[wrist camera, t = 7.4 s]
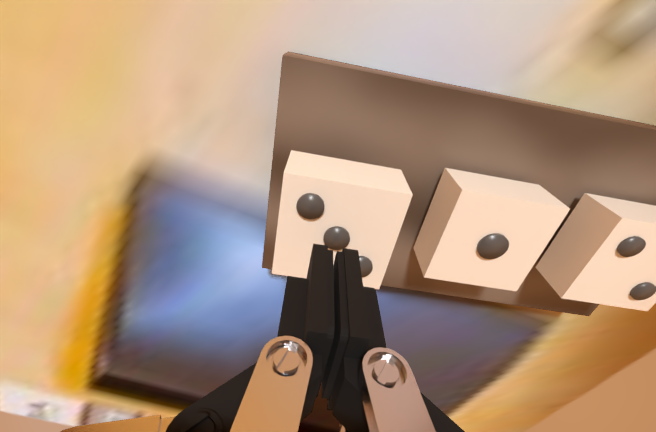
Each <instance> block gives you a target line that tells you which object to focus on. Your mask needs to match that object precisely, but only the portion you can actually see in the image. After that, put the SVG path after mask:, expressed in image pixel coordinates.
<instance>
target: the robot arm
mask: <svg viewBox="0 0 656 432" xmlns="http://www.w3.org/2000/svg"><path fill="white" fill-rule="evenodd" d="M321 382H322V398H326V399H327V410H333V415H334V416H335V417H336V418H337V420H338V421H339V422H340V432H464V431H463V430H462V429H461V428H460V427H459V426H458V425H457V424H455V423H454V422H453V421H452V420H451V419H450V418H449V417H448V416H447V415H445V414H444V413H443V412H442V411H441V410H440V409H439V408H438V407H436V406H435V405H434V404H433V403H432V402H431V401H430V400H429V399H427V398H426V397H425V396H424V395H423V394H422V393H421V392H420V391H419V388H418V386H417V383H416V381H415V378H414V376H413V373H412V371H411V368H410V366H409V365H408V363H407V361H406V360H405V359H404V358H403V357H402V356H401V355H400V354H398V353H397V352H395V351H393V350H391V349H388V348H386V343H385V338H384V332H383V327H382V322H381V316H380V311H379V305H378V300H377V294H376V290H375V289H374V288H371V287H364V286H363V282H362V274H361V267H360V260H359V252H358V250H353V249H347V248H343V249H342V252H341V251H337V253H336V256H335V261H334V265H333V250H328V246H327V245H320V244H314V243H313V247H312V252H311V257H310V263H309V268H308V273H307V278H300V277H292V276H288V277H287V283H286V289H285V295H284V301H283V307H282V313H281V319H280V324H279V330H278V336H277V337H276V338H274V339H272V340H270V341H269V342H268V343H267V344H266V345H265V346H264V348H263V350H262V351H261V354H260V356H259V359H258V362H257V363H255V364H254V365H252V366H251V367H249V368H248V369H246V370H245V371H243V372H242V373H240V374H238V375H237V376H235V377H234V378H232V379H231V380H229V381H228V382H226V383H225V384H223V385H221V386H220V387H218V388H217V389H215V390H214V391H212V392H211V393H209V394H208V395H206V396H204V397H203V398H201V399H200V400H198V401H197V402H195V403H194V404H192V405H190V406H189V407H187V408H186V409H184V410H183V411H182V412H180V413H179V414H178V415H177V416H176V417H169V418H162V419H161V415H156V416H148V417H141V418H134V419H126V420H119V421H111V422H104V423H97V424H89V425H82V426H75V427H72V428H68V429H65V430H62V431H61V432H298V428H299V423H300V422H301V421H302V420H303V419H304V418H305V417H306V416H307V415H309V414H310V413H311V412H312V409H313V405H314V401H315V398H316V397H317V396H318V393H319V389H320V385H321Z"/></svg>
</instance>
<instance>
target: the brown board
mask: <svg viewBox="0 0 656 432" xmlns="http://www.w3.org/2000/svg"><path fill="white" fill-rule="evenodd" d="M291 150H293V151H299V152H305V153H310V154H316V155H321V156H327V157H333V158H338V159H344V160H350V161H355V162H361V163H366V164H372V165H378V166H383V167H389V168H395V169H400V170H401V171H402V173H403V175H404V177H405V179H406V181H407V183H408V186H409V188H410V190H411V192H412V194H413V196H412V198H411V201H410V204H409V207H408V210H407V213H406V215H405V218H404V221H403V224H402V227H401V229H400V232H399V235H398V238H397V241H396V244H395V246H394V249H393V252H392V255H391V258H390V261H389V263H388V266H387V269H386V272H385V275H384V277H383V280H382V283H381V285H382V286H389V287H396V288H403V289H409V290H416V291H423V292H430V293H436V294H443V295H450V296H457V297H463V298H470V299H477V300H484V301H491V302H497V303H504V304H511V305H518V306H524V307H531V308H538V309H545V310H551V311H558V312H565V313H572V314H578V315H585V316H589V315H590V314H591V313H592V312H593V311H594V310H595V308H596V307H597V306H598V305H599V304H596V303H589V302H583V301H576V300H570V299H563V298H561V297H560V296H559V295H558V294H557V293H556V291H555V290H554V289H553V288H552V287H551V285H550V284H549V283H548V282H547V281H546V279H545V278H544V277H543V276H542V275H541V273H540V272H539V271H538V270H537V269H536V266H537V264H538V263H539V261H540V260H541V258H542V257H543V255H544V254H545V252H546V251H547V249H548V248H549V246H550V245H551V243H552V242H553V240H554V238H555V237H556V235H557V234H558V232H559V231H560V229H561V228H562V226H563V225H564V223H565V222H566V220H567V219H568V217H569V216H570V214H571V213H572V211H573V210H574V208H575V207H576V205H577V204H578V202H579V201H580V199H581V198H582V196H583V195H584V193H588V194H594V195H599V196H605V197H610V198H616V199H621V200H627V201H632V202H638V203H643V204H649V205H655V206H656V126H654V125H649V124H644V123H639V122H634V121H629V120H624V119H619V118H614V117H609V116H604V115H599V114H594V113H590V112H585V111H580V110H575V109H570V108H565V107H560V106H555V105H550V104H545V103H540V102H535V101H530V100H525V99H520V98H515V97H510V96H505V95H500V94H495V93H490V92H486V91H481V90H476V89H471V88H466V87H461V86H456V85H451V84H446V83H441V82H436V81H431V80H426V79H421V78H416V77H411V76H406V75H401V74H396V73H391V72H386V71H382V70H377V69H372V68H367V67H362V66H357V65H352V64H347V63H342V62H337V61H332V60H327V59H322V58H317V57H312V56H307V55H302V54H297V53H292V52H287V53H285V54H284V55H283V57H282V67H281V78H280V88H279V98H278V109H277V119H276V129H275V139H274V150H273V160H272V170H271V180H270V191H269V201H268V211H267V222H266V232H265V242H264V252H263V263H262V268H267V269H272V267H273V258H274V250H275V241H276V233H277V225H278V216H279V208H280V199H281V191H282V183H283V174H284V170H285V167H286V164H287V161H288V158H289V155H290V152H291ZM445 168H449V169H455V170H461V171H466V172H472V173H477V174H483V175H488V176H494V177H499V178H505V179H510V180H516V181H522V182H527V183H533V184H538V185H540V186H541V187H543V188H544V189H545V190H547V191H548V192H549V193H551V194H552V195H553V196H554V197H556V198H557V199H558V200H560V201H561V202H562V203H563V204H565V205H566V206H567V207H569V208H570V210H569V212H568V213H567V215H566V216H565V218H564V219H563V221H562V223H561V224H560V226H559V227H558V229H557V230H556V232H555V233H554V235H553V236H552V238H551V239H550V241H549V242H548V244H547V246H546V247H545V249H544V250H543V252H542V253H541V255H540V256H539V258H538V259H537V261H536V262H535V264H534V265H533V267H532V268H531V270H530V272H529V273H528V275H527V276H526V278H525V279H524V281H523V282H522V284H521V285H520V287H519V288H518V290H517V291H510V290H504V289H497V288H491V287H484V286H477V285H471V284H464V283H458V282H451V281H444V280H438V279H431V278H425V277H424V276H423V273H422V271H421V268H420V265H419V262H418V260H417V257H416V254H415V251H414V245H415V242H416V240H417V237H418V235H419V232H420V230H421V227H422V225H423V222H424V220H425V217H426V215H427V212H428V209H429V207H430V204H431V202H432V199H433V197H434V194H435V192H436V189H437V187H438V184H439V181H440V179H441V176H442V174H443V171H444V169H445Z"/></svg>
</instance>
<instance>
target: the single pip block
mask: <svg viewBox="0 0 656 432" xmlns="http://www.w3.org/2000/svg"><path fill="white" fill-rule="evenodd" d="M569 210H570V208H569V207H567V206H566V205H565V204H563V203H562V202H561V201H560V200H558V199H557V198H556V197H554V196H553V195H552V194H551V193H549V192H548V191H547V190H545V189H544V188H543V187H541V186H540V185H538V184H533V183H527V182H522V181H516V180H510V179H505V178H499V177H494V176H488V175H483V174H477V173H472V172H466V171H461V170H455V169H449V168H445V169H444V171H443V174H442V176H441V179H440V181H439V184H438V187H437V189H436V192H435V194H434V197H433V199H432V202H431V204H430V207H429V209H428V212H427V215H426V217H425V220H424V222H423V225H422V227H421V230H420V232H419V235H418V237H417V240H416V242H415V245H414V251H415V254H416V257H417V260H418V262H419V265H420V268H421V271H422V273H423V276H424V277H425V278H431V279H438V280H444V281H451V282H458V283H464V284H471V285H477V286H484V287H491V288H497V289H504V290H510V291H517V290H518V288H519V287H520V285H521V284H522V282H523V281H524V279H525V278H526V276H527V275H528V273H529V272H530V270H531V268H532V267H533V265H534V264H535V262H536V261H537V259H538V258H539V256H540V255H541V253H542V252H543V250H544V249H545V247H546V246H547V244H548V242H549V241H550V239H551V238H552V236H553V235H554V233H555V232H556V230H557V229H558V227H559V226H560V224H561V223H562V221H563V219H564V218H565V216H566V215H567V213H568V212H569Z"/></svg>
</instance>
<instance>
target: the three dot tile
mask: <svg viewBox="0 0 656 432" xmlns="http://www.w3.org/2000/svg"><path fill="white" fill-rule="evenodd" d="M412 196H413V194H412V192H411V190H410V188H409V186H408V183H407V181H406V179H405V177H404V175H403V173H402V171H401V170H400V169H395V168H389V167H383V166H378V165H372V164H366V163H361V162H355V161H350V160H344V159H338V158H333V157H327V156H321V155H316V154H310V153H305V152H299V151H293V150H291V152H290V155H289V158H288V161H287V164H286V167H285V170H284V174H283V183H282V191H281V199H280V208H279V216H278V225H277V233H276V241H275V250H274V258H273V267H272V274H278V275H284V276H292V277H300V278H307V273H308V268H309V263H310V257H311V252H312V247H313V243H314V244H320V245H327V246H328V250H333V265H334V261H335V256H336V253H337V251H341V252H342V249H343V248H347V249H353V250H358V252H359V260H360V267H361V274H362V282H363V286H364V287H371V288H374V289H380V286H381V283H382V280H383V277H384V275H385V272H386V269H387V266H388V263H389V261H390V258H391V255H392V252H393V249H394V246H395V244H396V241H397V238H398V235H399V232H400V229H401V227H402V224H403V221H404V218H405V215H406V213H407V210H408V207H409V204H410V201H411V198H412Z"/></svg>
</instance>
